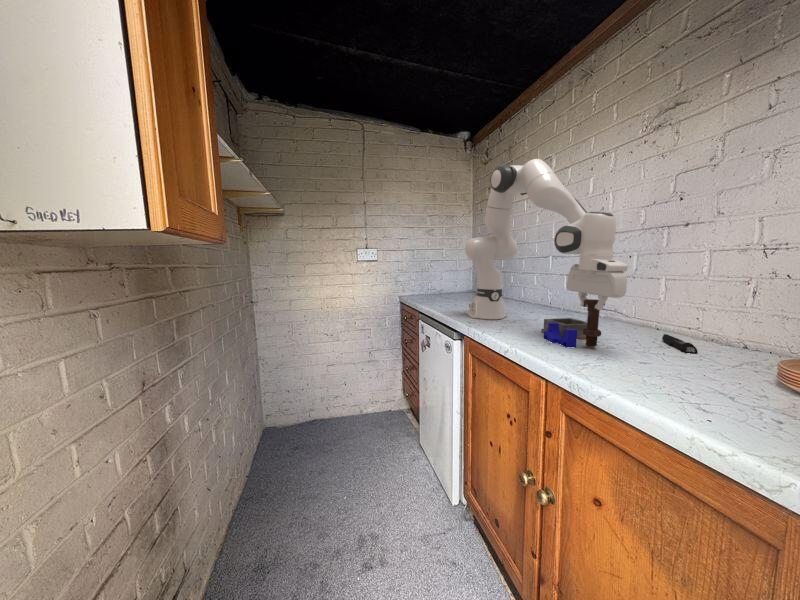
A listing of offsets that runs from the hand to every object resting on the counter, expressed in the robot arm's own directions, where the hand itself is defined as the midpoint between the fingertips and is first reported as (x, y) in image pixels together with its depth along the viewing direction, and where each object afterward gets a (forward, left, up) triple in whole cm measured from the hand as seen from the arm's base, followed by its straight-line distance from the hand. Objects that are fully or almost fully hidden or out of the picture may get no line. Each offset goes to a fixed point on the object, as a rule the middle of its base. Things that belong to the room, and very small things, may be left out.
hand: (591, 308), depth 98 cm
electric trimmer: (+5, +29, -13) cm, 32 cm away
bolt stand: (-16, +5, -13) cm, 21 cm away
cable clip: (-6, -6, -13) cm, 16 cm away
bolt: (+1, 0, -13) cm, 13 cm away
